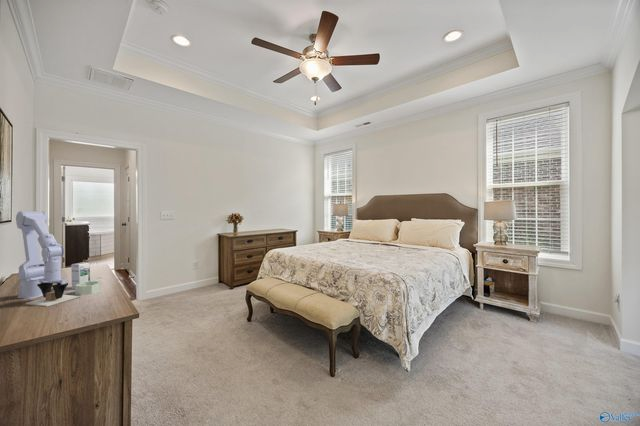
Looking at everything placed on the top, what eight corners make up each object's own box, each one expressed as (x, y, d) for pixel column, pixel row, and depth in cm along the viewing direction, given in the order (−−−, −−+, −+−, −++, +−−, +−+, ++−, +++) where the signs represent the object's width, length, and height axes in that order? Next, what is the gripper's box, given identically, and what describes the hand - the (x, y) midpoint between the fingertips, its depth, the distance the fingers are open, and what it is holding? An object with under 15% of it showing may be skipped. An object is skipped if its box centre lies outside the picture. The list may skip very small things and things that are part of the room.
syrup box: (79, 290, 145) (79, 264, 145) (71, 289, 146) (71, 263, 146) (90, 287, 151) (90, 262, 150) (82, 286, 152) (82, 261, 152)
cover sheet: (25, 304, 123) (25, 295, 123) (58, 295, 136) (58, 287, 136) (46, 306, 120) (46, 297, 120) (78, 297, 133) (78, 289, 133)
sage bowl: (70, 294, 137) (70, 285, 137) (90, 289, 147) (90, 280, 147) (85, 296, 135) (85, 286, 135) (104, 290, 145) (104, 281, 145)
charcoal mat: (21, 304, 123) (21, 304, 123) (57, 295, 137) (57, 294, 137) (48, 308, 120) (48, 307, 120) (81, 297, 133) (81, 297, 133)
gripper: (31, 271, 125) (31, 299, 126) (54, 273, 122) (54, 301, 123) (49, 267, 132) (49, 294, 132) (71, 269, 129) (71, 296, 130)
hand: (52, 297), depth 128 cm, fingers open, 7 cm apart
